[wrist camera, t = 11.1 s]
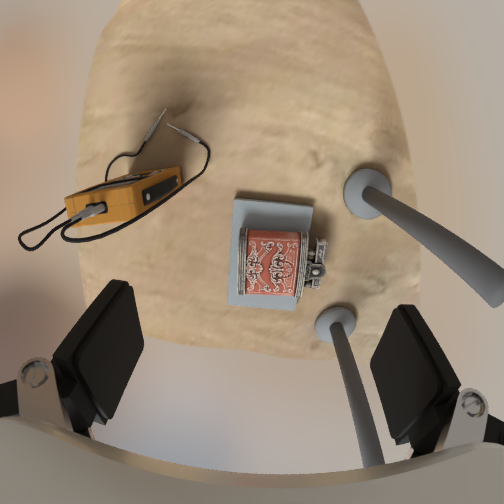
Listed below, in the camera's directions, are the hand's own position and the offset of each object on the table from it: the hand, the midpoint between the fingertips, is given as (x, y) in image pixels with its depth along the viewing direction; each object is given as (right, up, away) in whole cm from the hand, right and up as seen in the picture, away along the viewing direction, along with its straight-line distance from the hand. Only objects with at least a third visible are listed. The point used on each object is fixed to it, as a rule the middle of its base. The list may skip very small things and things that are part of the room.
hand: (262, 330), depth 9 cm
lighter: (-2, +2, +23) cm, 23 cm away
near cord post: (+13, +10, +21) cm, 27 cm away
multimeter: (-12, +15, +21) cm, 28 cm away
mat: (+2, +2, +25) cm, 25 cm away
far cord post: (+12, -8, +29) cm, 32 cm away
